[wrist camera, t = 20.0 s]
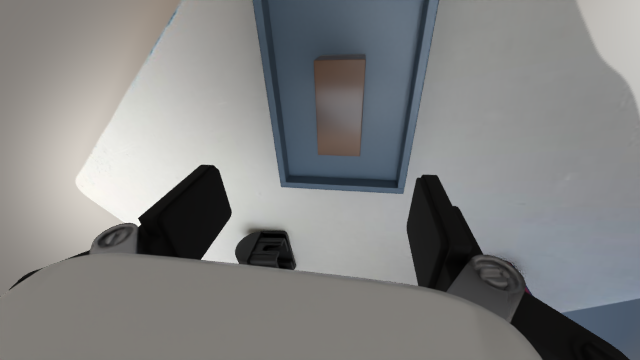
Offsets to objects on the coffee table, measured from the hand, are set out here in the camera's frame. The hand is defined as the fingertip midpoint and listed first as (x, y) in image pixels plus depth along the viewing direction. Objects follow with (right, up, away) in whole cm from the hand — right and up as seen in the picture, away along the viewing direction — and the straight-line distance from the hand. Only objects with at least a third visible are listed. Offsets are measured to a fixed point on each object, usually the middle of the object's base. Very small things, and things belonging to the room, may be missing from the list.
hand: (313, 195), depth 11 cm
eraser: (+3, +9, +15) cm, 18 cm away
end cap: (-8, -11, +31) cm, 34 cm away
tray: (+3, +10, +15) cm, 18 cm away
